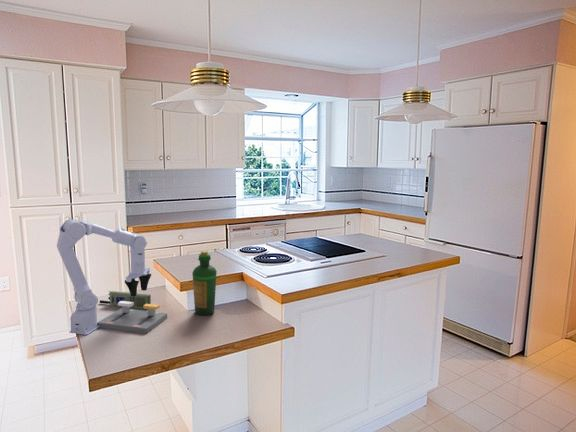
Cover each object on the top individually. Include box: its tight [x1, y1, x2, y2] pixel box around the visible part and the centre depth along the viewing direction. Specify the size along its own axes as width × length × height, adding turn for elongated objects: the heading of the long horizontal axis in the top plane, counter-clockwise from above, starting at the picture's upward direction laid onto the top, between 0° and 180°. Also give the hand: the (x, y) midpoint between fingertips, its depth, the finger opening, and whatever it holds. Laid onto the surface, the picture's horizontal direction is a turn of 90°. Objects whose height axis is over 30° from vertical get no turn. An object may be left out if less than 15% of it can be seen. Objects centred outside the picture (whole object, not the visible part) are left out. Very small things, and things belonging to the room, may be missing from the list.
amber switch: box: [143, 303, 160, 316], centre depth 169 cm, size 2×6×4 cm, turn 78°
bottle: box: [192, 250, 218, 316], centre depth 177 cm, size 11×11×28 cm
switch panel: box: [97, 307, 168, 334], centre depth 167 cm, size 16×22×2 cm
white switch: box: [117, 301, 134, 313], centre depth 171 cm, size 2×6×4 cm, turn 78°
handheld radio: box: [99, 290, 152, 310], centre depth 184 cm, size 7×3×25 cm
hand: (138, 293), depth 172 cm, fingers open, 7 cm apart
